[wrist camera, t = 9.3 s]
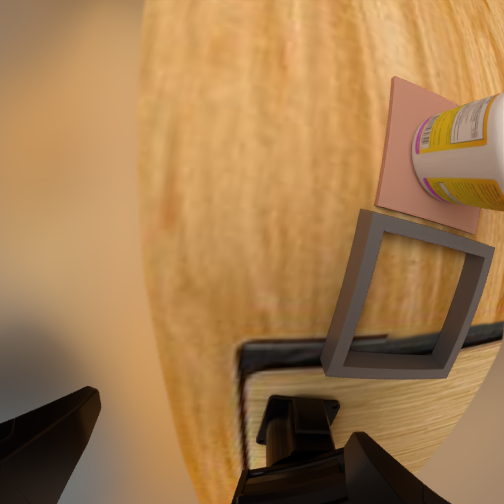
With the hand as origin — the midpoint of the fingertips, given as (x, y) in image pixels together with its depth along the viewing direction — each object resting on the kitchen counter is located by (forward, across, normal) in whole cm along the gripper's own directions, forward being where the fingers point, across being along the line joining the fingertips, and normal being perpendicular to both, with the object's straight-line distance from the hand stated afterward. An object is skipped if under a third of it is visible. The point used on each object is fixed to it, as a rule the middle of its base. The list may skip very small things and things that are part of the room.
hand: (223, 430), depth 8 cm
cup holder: (+13, -13, -2) cm, 18 cm away
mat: (+13, -13, -13) cm, 23 cm away
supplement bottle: (+13, -13, -13) cm, 22 cm away
